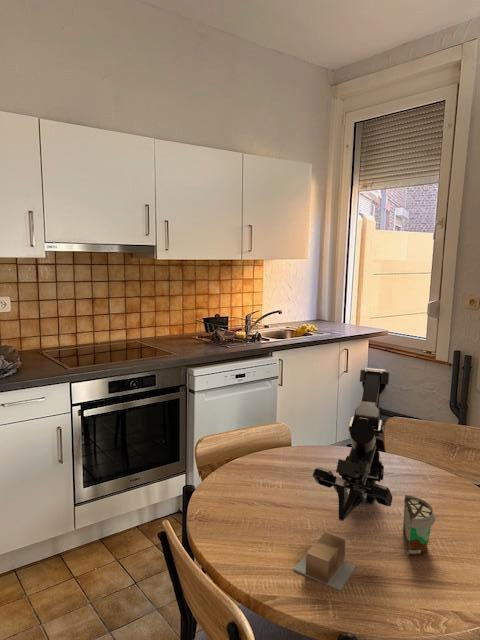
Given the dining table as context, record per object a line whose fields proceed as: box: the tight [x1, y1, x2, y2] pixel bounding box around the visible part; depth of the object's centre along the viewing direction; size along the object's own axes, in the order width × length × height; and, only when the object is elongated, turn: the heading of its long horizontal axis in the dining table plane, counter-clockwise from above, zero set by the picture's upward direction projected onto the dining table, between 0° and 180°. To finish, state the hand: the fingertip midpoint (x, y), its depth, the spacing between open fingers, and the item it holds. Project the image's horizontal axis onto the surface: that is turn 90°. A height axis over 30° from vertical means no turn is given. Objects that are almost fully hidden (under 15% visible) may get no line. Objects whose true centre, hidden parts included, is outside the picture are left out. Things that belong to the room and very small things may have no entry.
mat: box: [293, 554, 357, 591], centre depth 105 cm, size 9×11×1 cm
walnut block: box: [305, 531, 347, 584], centre depth 105 cm, size 5×5×10 cm
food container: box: [402, 494, 436, 558], centre depth 114 cm, size 12×6×10 cm, turn 168°
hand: (340, 520), depth 111 cm, fingers closed
